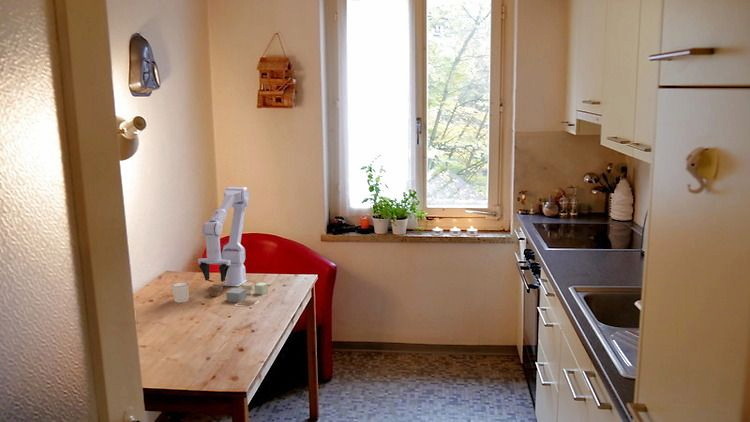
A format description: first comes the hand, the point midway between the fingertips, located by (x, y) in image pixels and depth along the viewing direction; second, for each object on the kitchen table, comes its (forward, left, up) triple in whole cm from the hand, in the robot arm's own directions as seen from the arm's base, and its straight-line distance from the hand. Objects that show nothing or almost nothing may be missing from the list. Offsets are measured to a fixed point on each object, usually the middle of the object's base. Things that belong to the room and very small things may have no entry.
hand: (215, 280), depth 285 cm
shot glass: (+11, -10, -6) cm, 16 cm away
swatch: (+8, +19, -6) cm, 22 cm away
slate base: (+4, +12, -7) cm, 14 cm away
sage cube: (-7, +18, -6) cm, 20 cm away
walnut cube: (0, 0, -6) cm, 6 cm away
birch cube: (-6, +12, -6) cm, 15 cm away
